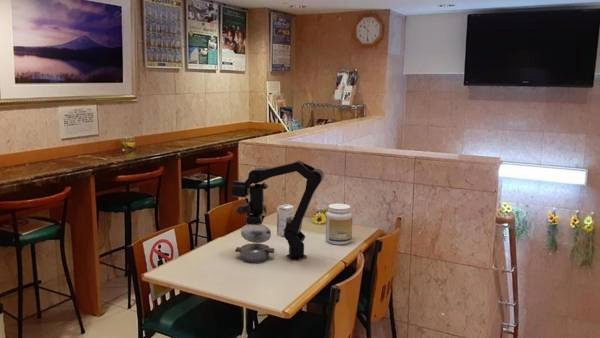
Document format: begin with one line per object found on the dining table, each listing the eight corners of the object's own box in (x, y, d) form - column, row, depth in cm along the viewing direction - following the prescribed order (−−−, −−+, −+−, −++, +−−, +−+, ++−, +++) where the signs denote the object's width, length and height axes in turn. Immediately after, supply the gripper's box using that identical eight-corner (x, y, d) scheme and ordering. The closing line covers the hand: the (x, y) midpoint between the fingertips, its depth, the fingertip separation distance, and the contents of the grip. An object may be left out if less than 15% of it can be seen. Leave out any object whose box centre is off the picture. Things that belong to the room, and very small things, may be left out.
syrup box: (284, 232, 245) (284, 203, 243) (293, 234, 241) (294, 205, 239) (276, 235, 241) (276, 205, 238) (286, 237, 237) (286, 208, 235)
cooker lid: (242, 242, 215) (243, 237, 217) (271, 243, 214) (272, 238, 216) (239, 224, 206) (240, 219, 207) (269, 225, 205) (270, 220, 207)
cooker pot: (277, 259, 208) (277, 248, 207) (248, 266, 200) (248, 255, 199) (261, 250, 218) (261, 240, 217) (232, 257, 210) (232, 246, 209)
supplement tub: (356, 243, 230) (357, 207, 227) (333, 246, 225) (334, 210, 222) (342, 235, 241) (343, 201, 238) (320, 239, 236) (321, 204, 233)
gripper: (241, 192, 220) (242, 225, 223) (233, 203, 202) (234, 240, 205) (266, 192, 219) (267, 226, 222) (260, 204, 201) (261, 241, 204)
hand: (257, 233), depth 213 cm, fingers closed
